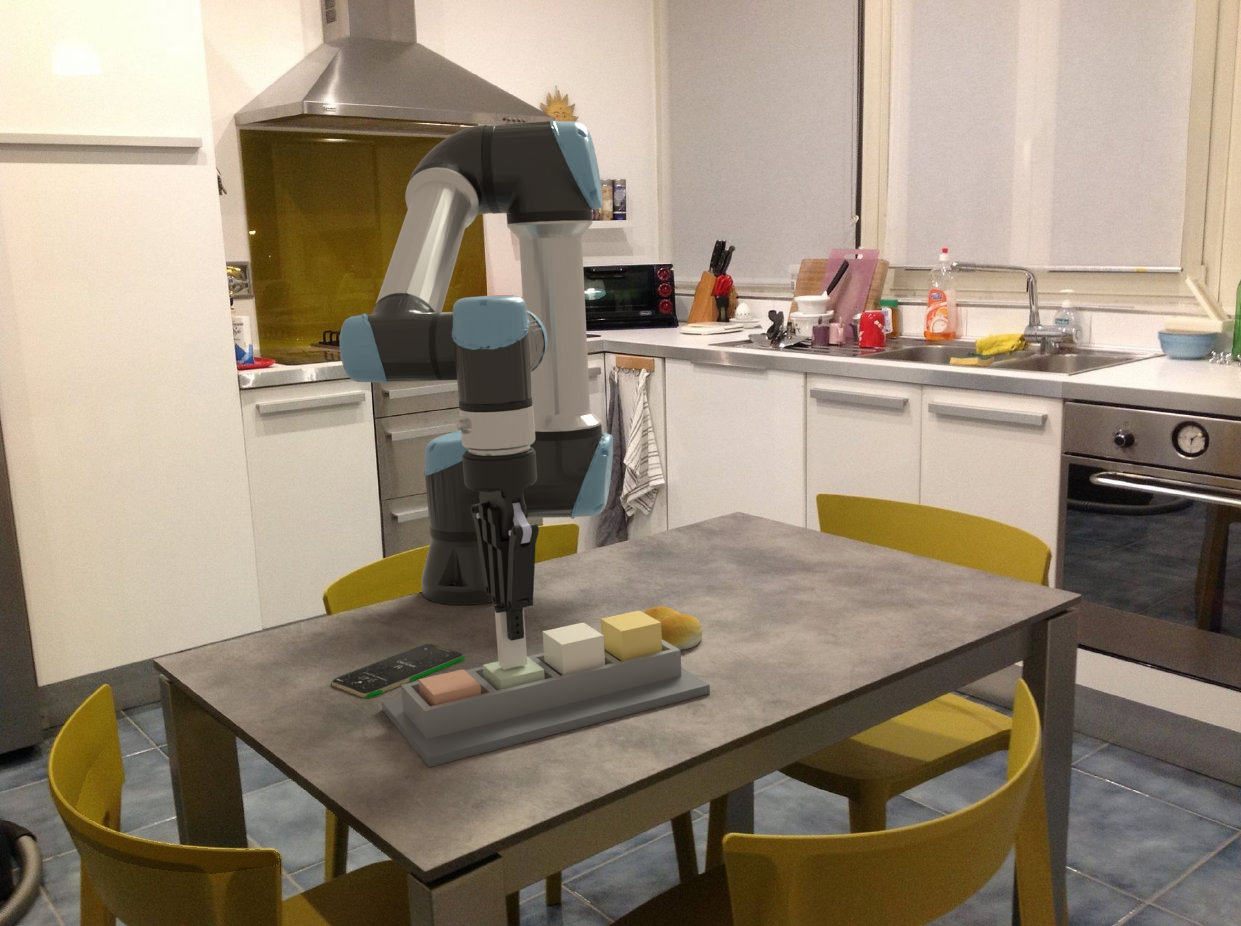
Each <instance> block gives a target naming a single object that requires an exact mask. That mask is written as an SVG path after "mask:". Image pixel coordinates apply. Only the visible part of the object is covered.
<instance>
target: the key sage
mask: <svg viewBox="0 0 1241 926" xmlns="http://www.w3.org/2000/svg"><path fill="white" fill-rule="evenodd" d="M482 667H483V674H484V680H485V681H487V682H488V683H489V684H490V685H491V686H492V687H493V688H494V689H496V690H497V691H498V690H502V689H506V688H510V687H515V686H519V685H523V684H527V683H531V682H536V681H540V680H544V679H545V675H544V669H543V668H542V667H540V666H539V665H538V664H536V663H535V662H534V661H532V660H531V659H530V658H529V657H527V665H522V666H518V667H513V668H509V669H505V670H504V669H502V668H501V667H500V666H499V663H498V661H493V662H489V663H485V664H482Z"/></svg>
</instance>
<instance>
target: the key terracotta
mask: <svg viewBox="0 0 1241 926" xmlns="http://www.w3.org/2000/svg"><path fill="white" fill-rule="evenodd" d="M465 670H466V669H464V668H463V669H458V670H453V671H450V672H445V673H440V674H436V675H430V676H428V677H427V676H426V677H422V678H420V679H418V681H419V691H420V696H421V697H422V698H423V700H424V701H425V702H426V703H427V704H428V705H429V706H430V707H431V706H435V705H439V704H443V703H447V702H452V701H456V700H460V699H464V698H468V697H473V696H477V695H481V686H480V684H479V683H478V682H477V681H476V680H475V679H474V678H473V677H472V676H471V675H469V674H468V673H467V672H466V671H465Z"/></svg>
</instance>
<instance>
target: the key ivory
mask: <svg viewBox="0 0 1241 926" xmlns="http://www.w3.org/2000/svg"><path fill="white" fill-rule="evenodd" d="M542 642H543V645H542V646H543V653H544V661H545V662H546V663H547V664H549V665H550V666H551V667H553V668H554V669H555V670H557V671H558V672H559V673H561V674H562V675H565V674H569V673H574V672H578V671H582V670H586V669H590V668H595V667H599V666H603V665H605V654H604V635H602V634H601V632H599V631H598V630H596V629H595V628H593V627H591V626H589V625H588V624H587V623H585V622H579V623H574V624H570V625H566V626H561V627H558V628H552V629H548V630H543V631H542Z"/></svg>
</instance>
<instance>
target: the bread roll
mask: <svg viewBox="0 0 1241 926" xmlns="http://www.w3.org/2000/svg"><path fill="white" fill-rule="evenodd" d="M642 612H643V613H645V614H647V615H649V616H650V617H652V618H654V619H656V620H658V621H659V622H661V633H662V640H664V641H666V642H668V643H669V644H671V645H673V646H674V647H676V648H678V649H680V650H681V651H682V650H683V651H684V650H688V649H691V648H694V647H696V646H697V645H698V644H699V643H700V642H701V640H702V637H703V626H702V625H701V623H700V620H698V619H697V618H696V617H695V616H694V615H689V614H686V613H685V614H684V613H682V614H681V612H679V611H677V610H676V609H673V608H671V607H667V606H654V607H650V608H647V609H645V610H644V611H642Z"/></svg>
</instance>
